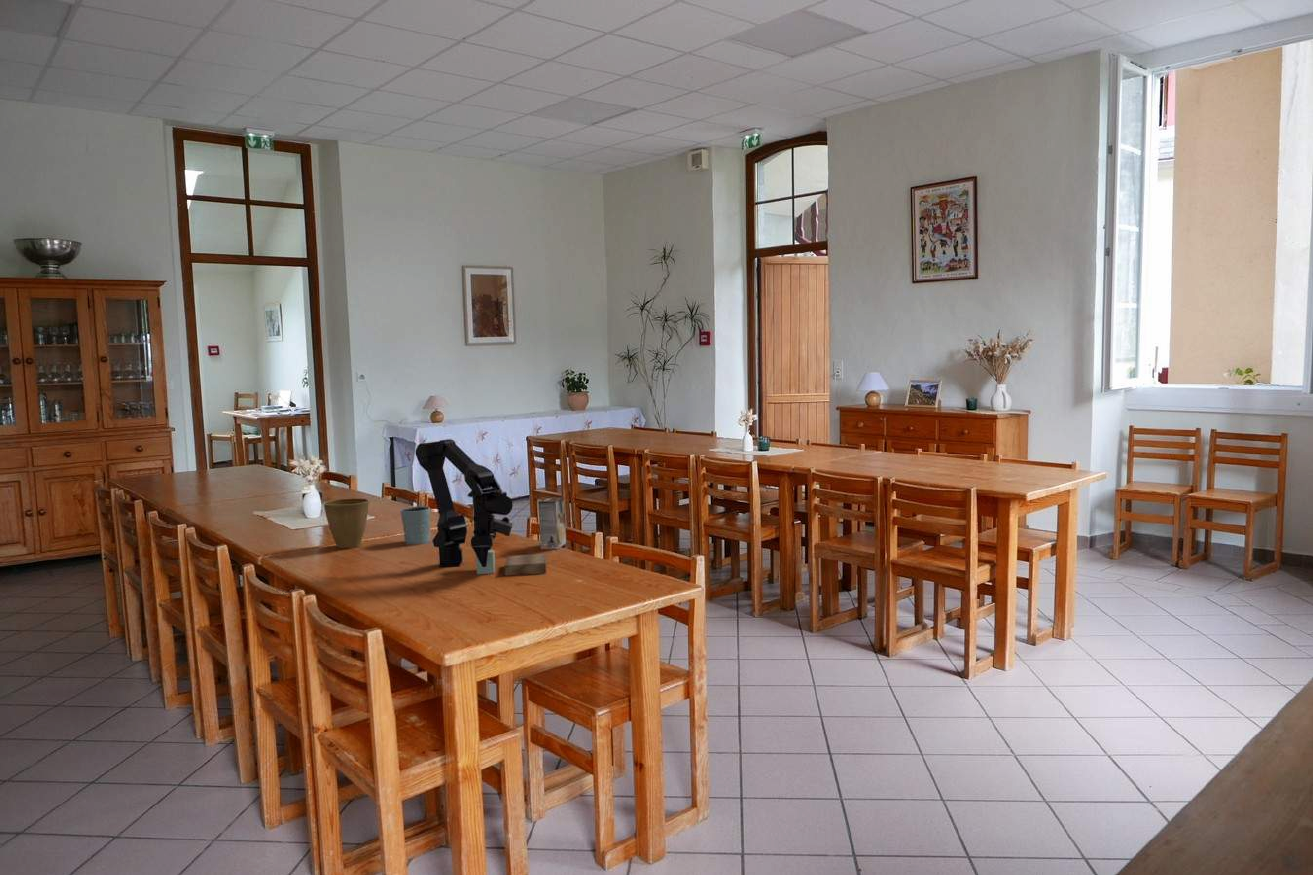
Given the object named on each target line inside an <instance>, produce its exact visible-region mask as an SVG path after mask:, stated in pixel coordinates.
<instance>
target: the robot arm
mask: <svg viewBox="0 0 1313 875" xmlns="http://www.w3.org/2000/svg"><path fill="white" fill-rule="evenodd" d="M415 456H416V459H417V461H418V464H419V466H421V468H423V469H424V470H425V471H426V473H427V477H428V479H429V480H428V481H429V483H430V488H431V490H432V494H433V497H434V501H435V505H436V508H437V512H438V516H439V517H438V521H437V524H436V528H437V533H436V534H435V536H434V537H433V538H432V545H433V547H434V548H438V558H439V559H438V560H439V564H438V567H440V568H442V567H459V566H461V564H462V563H463V560H464V559H463V558H464V555H463V548H462V547H461V544H465V542H466V540H467V539H466V538H467V533H468V531H467V527H468V524H466V520H465V516H464V515H463V514H459V513H458V512H457V511H456V508H455V506H454V502H453V498H452V494H451V491H450V488H449V484H448V481H447V477H446V474H445V470H444V464H445V461H446V459H447V461H449V463H452V465H453V466H454V467H455V468H456V469H457V470H458V471H459V472H460V473H461V474H462V475H463V477H464V483H466V485H467V487H469V489H470V490H471V491H470V492H469V493H468V494H467V497H469V498H472V512H473V516H472V521H473V532H472V533H473V536H472V537H471V539H470V546H471V548H472V550H473V552H474V553H475V556H476V555H477V557H478V559H479V561H480V563H481V565H482V567H486V564H487V557H488V550H491V548H493V545H494V540H495V538H496V537H497V533H498V534H502V535H504V536H506V537H510V535H511V531H512V528H513V525H514V524H513V523H512V522H510V518H509V517H507V515H510V513H511V512H512V510H513V501H512V499H511V497H509V496H508V495H507V492H506V491H503V489H502V488H501V485H500V484H499V482H498V481H497V479H496V477H495V474H494V472H493V471H492V470H491V469H489V468H488V467H486V466H484V465H481V464H477V462H475V461H474V460H473V459H472V458H471V457H470V456H469V455H468V454H467V453H466V452H465V451H463V449H462V448H460V447H459V446H458V445H457V444H456V441H455V440H454V439H451V438H450V439H449V438H447V439H441V440H438V441H430V442H422V443H419V444H418V445H417V447H416V449H415ZM495 515H500V516H503V518H502V519H500V518H499V519H497V518H495Z"/></svg>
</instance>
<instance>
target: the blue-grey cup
mask: <svg viewBox="0 0 1313 875" xmlns="http://www.w3.org/2000/svg"><path fill="white" fill-rule="evenodd" d="M400 515H401V516H400V517H401V521H402V526H403V533H404V534H403V536H404V542H405V544H406V545H410V546H416V545H424V544H428V543H430V542H431V531H430V530H431V523H430V522H431V507H430V506H411V507H410V506H409V507H405V508H402V509H400Z"/></svg>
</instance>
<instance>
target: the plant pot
mask: <svg viewBox="0 0 1313 875" xmlns="http://www.w3.org/2000/svg"><path fill="white" fill-rule="evenodd" d="M369 503H370V499H367V498H361V497H360V498H359V497H355V498H354V497H353V498H351V497H349V498H339V499H334V500H328V501H324V502H323V508H324V512H325V517H326V520H327V521H326V522H327V524H328V527H329V530H330V533H331V535H332V538H333V540H334V543H335V545H336V547H337V548H338V549H352V548H353V549H354V548H358V547H359V546H360V545H361V543H362V539H363V536H364V532H365V530H366V529H365V528H366V525H367V519H368V513H369Z"/></svg>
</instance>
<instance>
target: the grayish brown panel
mask: <svg viewBox="0 0 1313 875" xmlns="http://www.w3.org/2000/svg"><path fill="white" fill-rule="evenodd" d="M547 563H548V562H547V553H538V554H522V555H521V554H520V555H519V554H518V555H507V556H506V559H505V563H504V576H517V575H534V574H536V575H537V574H546V573H547Z"/></svg>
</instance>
